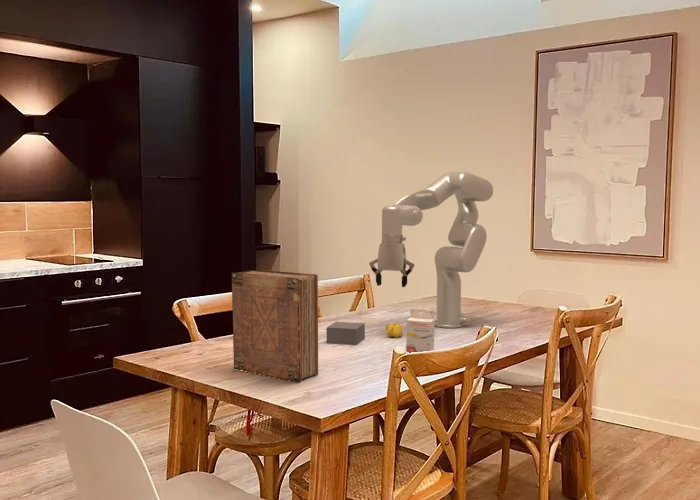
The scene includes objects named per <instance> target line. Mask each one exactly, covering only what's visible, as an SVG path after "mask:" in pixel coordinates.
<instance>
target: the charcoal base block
mask: <svg viewBox="0 0 700 500" xmlns="http://www.w3.org/2000/svg"><path fill="white" fill-rule="evenodd" d="M365 332H366V323H365V322H364V323H363V322H350V321H348V322H347V321H335V322H333V323H330V325H328V326H327V327H326V344H328V345H329V344H332V345H347V346H358V345H359V344H360V343H361V342H362V341H364V340H365V337H366V333H365Z"/></svg>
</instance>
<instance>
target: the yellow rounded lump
mask: <svg viewBox="0 0 700 500" xmlns="http://www.w3.org/2000/svg"><path fill="white" fill-rule="evenodd" d="M385 331H386V335H387V337H388V338H392V337H394V338H395V339H398V338H399V337H401V336H403V324H401V323H396V322H393V323H390V324H386V325H385Z"/></svg>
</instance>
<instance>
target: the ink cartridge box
mask: <svg viewBox="0 0 700 500" xmlns="http://www.w3.org/2000/svg"><path fill="white" fill-rule="evenodd" d="M409 313H410V317H409V318H408V319H406V333H405V334H406V338H405V339H406V344H405V348H406V349H405V351H407V352H409V353H411V352H423V351H431V350H435V326H434V321H435V317H434V316H435V315H434V314H435V311H434V310H433V309H421V308H410V312H409ZM420 313H423V314H420Z"/></svg>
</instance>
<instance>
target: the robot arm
mask: <svg viewBox="0 0 700 500" xmlns="http://www.w3.org/2000/svg"><path fill="white" fill-rule="evenodd" d="M493 195H494V186H493V185H492V182H490V181H489V180H487V179H486V178H482V177H480V176H478V175H475V174H472V173H470V172H466V171H450V172H446V173H444V174H442V175H441V176H440V177H438V178H437V179H435V180H434V181H433V182H431V183H430V184H428V185H427V186H426V187H424V188H423V189H420V190H417V191H415V192H413V193H409V194H408V195H406V196H404V197H402V198H401V199H398V201H396V202H395V203H393V205H388V206H383V207H382V209H381V242H380V243H379V247H378V253H377V258H376V259H374V260H372V261H370V262H368V264H369V266H370V268H371V271H372V272H373V273H374V274H375V283H376V286H379V287H380V286H381V285H382V278H383V277H382V274H381V273H382V272H383V271H395V272H400V273H401V274H402V276H401V287H402V288H405V287H407V285H408V276H409V275H410V274H411V273H412V272H413V270H414V268H415V264H414V263H413V262H411V261H410V260H408V259H407V254H406V253H407V251H406V246H405V245H406V244H405V243H403V242H405V241H406V240H407V238H406V236H403V226H409V227H413V226H417V225H419V224H421V223H422V220H423V217H424V215H423V211H425V210H429V209H430V210H431V209H434V208H437V207H440V205H441V204H443V203H444V202H445V201H446V200H447V199H449V198H450V197H451V196H455V198H456V202H457V206H458V210H457V214H456V217H455V219H454V220H453V223H452V225H451V227H450V229H449V231H448V232H449V233H448V235H447V240H448V242H449V244H450V245H452V246H448V245H447V246H442V247H439V248H438V249H437V250H436V252H435V254H434V266H435V270H436V319H434V327H437V328H441V329H442V328H443V329H445V328H446V329H457V328H462V327H464V326H465V323H472V317H469V316H463V313H462V312H461V311H462V309H461V308H462V280H461V276H460V273H470V272H471V271H473V270H474V269H475V267H476V266H477V263H478V262H479V260H480V257H481V255H482V254H483V253H482V252H483V251H484V248H485V246H486V243H487V231H486V229H485V227H484V226H483V225H481V224H478V223H477V222H478V219H479V210H478V207H477V204H476V202H487V201H489V200H490V199H491V198H492V197H493ZM375 264H377V267H376V266H375ZM407 266H408V269H407ZM459 272H460V273H459Z"/></svg>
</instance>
